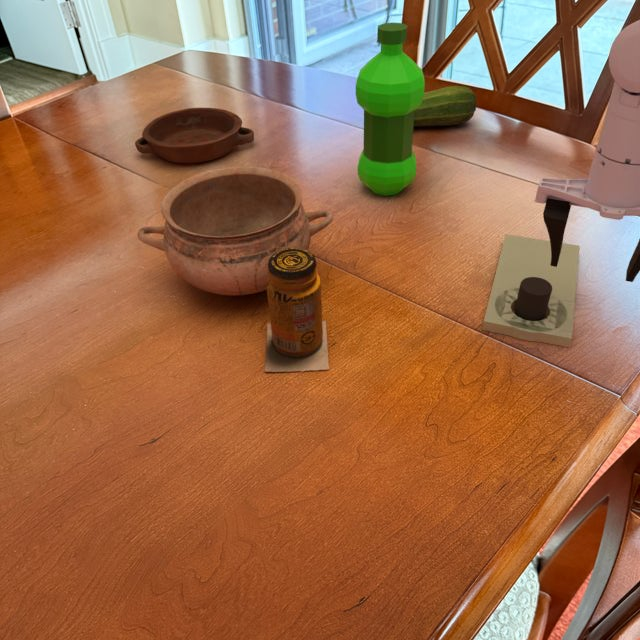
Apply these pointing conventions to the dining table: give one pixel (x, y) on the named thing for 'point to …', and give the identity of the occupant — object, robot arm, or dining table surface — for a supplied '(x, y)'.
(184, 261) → the cooking pot
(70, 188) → the dining table surface
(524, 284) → the stopper
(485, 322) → the plate
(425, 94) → the vegetable
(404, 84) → the plastic bottle
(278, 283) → the condiment
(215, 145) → the dish
